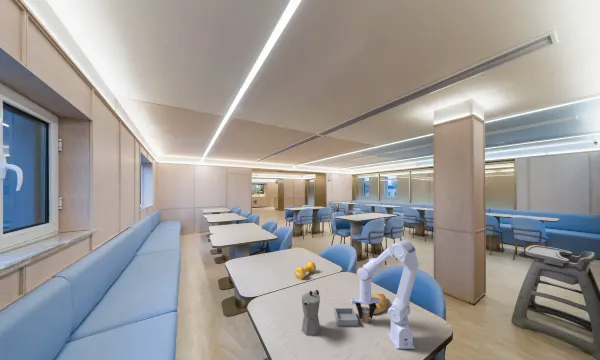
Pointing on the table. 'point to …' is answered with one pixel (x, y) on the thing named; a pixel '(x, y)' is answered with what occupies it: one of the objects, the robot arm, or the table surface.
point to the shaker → (365, 315)
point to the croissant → (382, 304)
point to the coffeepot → (311, 313)
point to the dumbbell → (305, 270)
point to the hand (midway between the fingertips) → (365, 317)
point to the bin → (345, 317)
